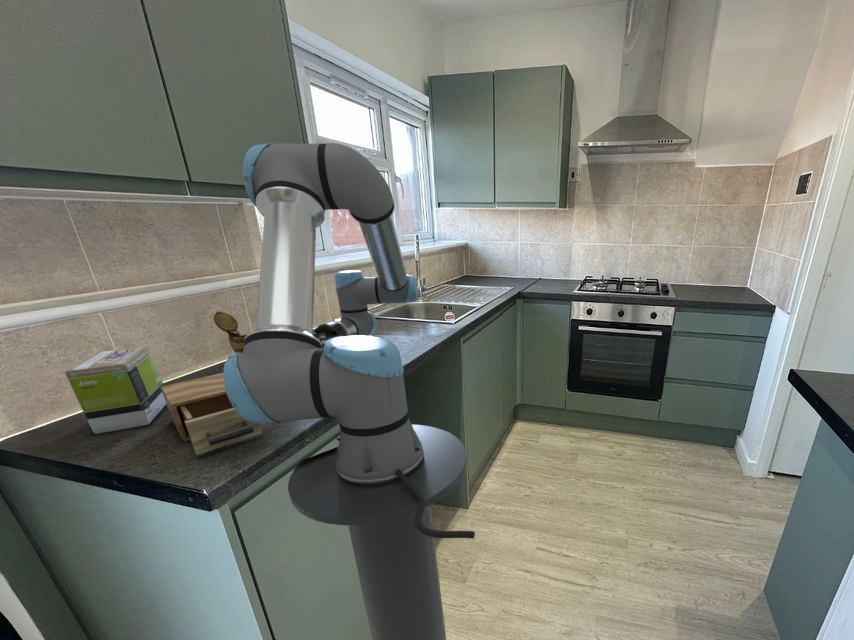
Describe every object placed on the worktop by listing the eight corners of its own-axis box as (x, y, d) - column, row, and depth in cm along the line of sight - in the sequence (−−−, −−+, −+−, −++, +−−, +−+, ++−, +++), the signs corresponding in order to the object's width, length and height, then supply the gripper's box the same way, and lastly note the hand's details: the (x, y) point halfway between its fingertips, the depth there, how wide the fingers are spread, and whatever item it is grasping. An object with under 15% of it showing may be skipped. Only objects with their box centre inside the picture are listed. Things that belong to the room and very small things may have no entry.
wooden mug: (247, 364, 131) (231, 308, 125) (279, 368, 127) (264, 310, 120) (220, 374, 124) (202, 314, 117) (253, 378, 119) (236, 316, 112)
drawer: (269, 441, 82) (261, 410, 79) (201, 463, 74) (189, 430, 72) (244, 415, 93) (236, 387, 91) (183, 432, 86) (173, 403, 84)
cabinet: (252, 421, 92) (242, 386, 89) (184, 442, 84) (170, 404, 81) (235, 404, 102) (225, 372, 99) (172, 421, 93) (160, 386, 90)
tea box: (121, 408, 101) (97, 350, 96) (171, 401, 104) (151, 344, 99) (91, 435, 88) (62, 369, 83) (150, 425, 92) (125, 362, 86)
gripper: (378, 350, 110) (325, 377, 91) (299, 346, 117) (235, 370, 97) (374, 322, 108) (319, 344, 89) (293, 319, 114) (226, 339, 95)
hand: (274, 358), depth 93 cm, fingers open, 13 cm apart
